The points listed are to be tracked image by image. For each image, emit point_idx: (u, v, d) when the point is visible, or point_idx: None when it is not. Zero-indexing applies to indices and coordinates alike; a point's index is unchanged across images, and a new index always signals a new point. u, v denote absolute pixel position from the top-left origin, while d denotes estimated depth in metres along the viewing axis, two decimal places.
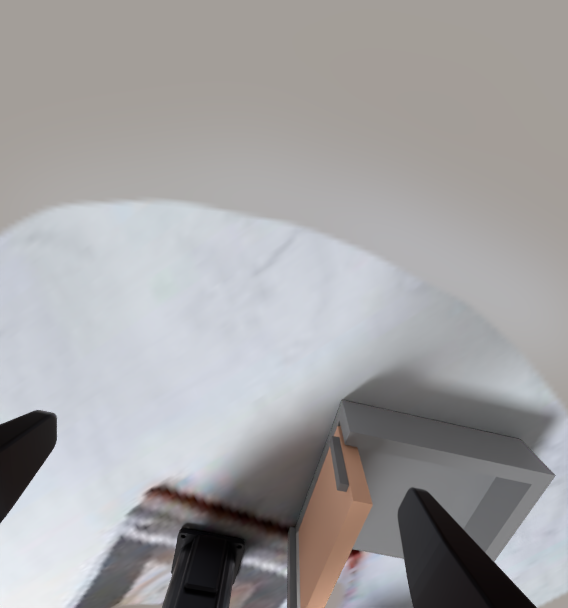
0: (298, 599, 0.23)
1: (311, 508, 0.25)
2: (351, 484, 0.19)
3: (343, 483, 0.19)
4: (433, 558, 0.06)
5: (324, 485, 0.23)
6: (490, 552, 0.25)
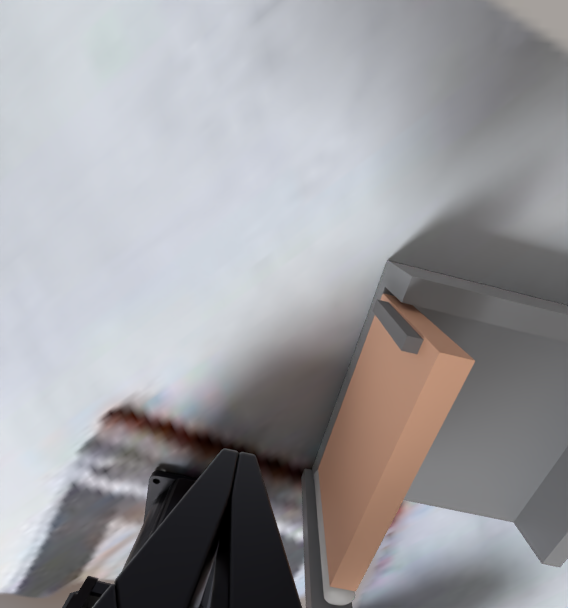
0: (323, 556, 0.15)
1: (339, 428, 0.17)
2: (427, 337, 0.10)
3: (413, 337, 0.11)
4: (226, 518, 0.06)
5: (363, 382, 0.15)
6: None
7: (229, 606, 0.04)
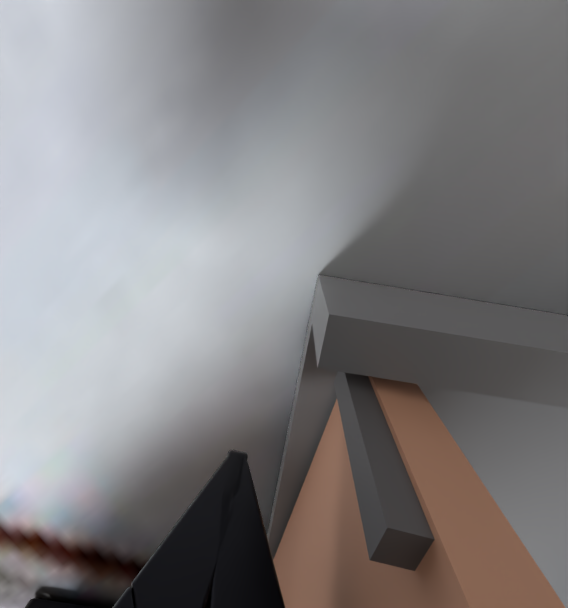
0: None
1: (281, 565, 0.10)
2: (446, 534, 0.04)
3: (404, 528, 0.04)
4: None
5: (315, 510, 0.08)
6: None
7: (210, 603, 0.04)
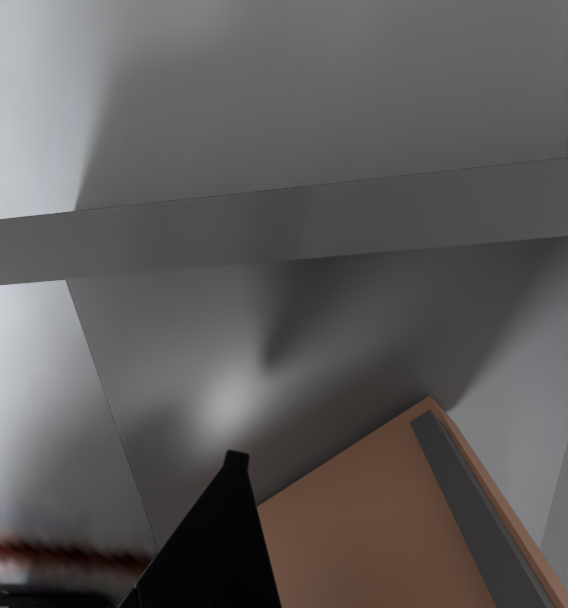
0: None
1: None
2: None
3: None
4: None
5: (319, 520, 0.08)
6: None
7: (207, 602, 0.04)
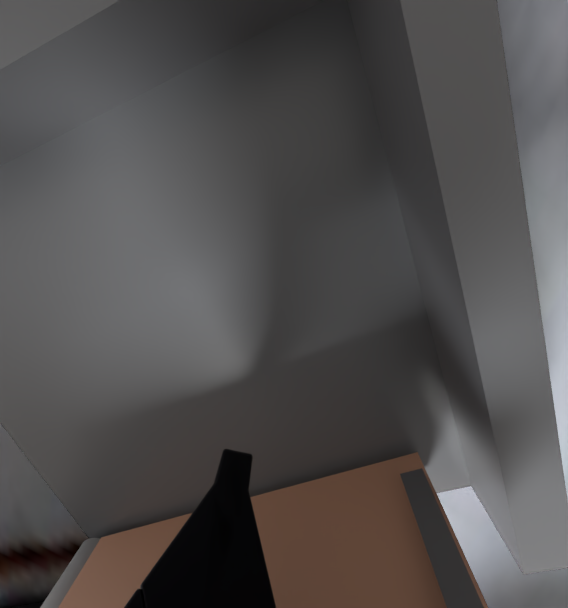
0: None
1: None
2: None
3: None
4: None
5: (285, 540, 0.08)
6: (500, 354, 0.06)
7: (200, 601, 0.04)
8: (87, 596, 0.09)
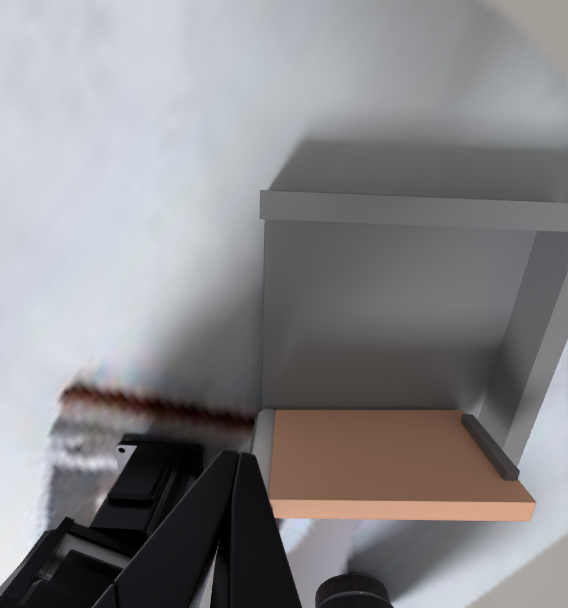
0: (265, 473, 0.15)
1: (341, 420, 0.19)
2: (518, 482, 0.15)
3: (517, 474, 0.14)
4: (226, 518, 0.06)
5: (404, 428, 0.18)
6: (536, 378, 0.16)
7: (229, 606, 0.04)
8: (291, 432, 0.18)
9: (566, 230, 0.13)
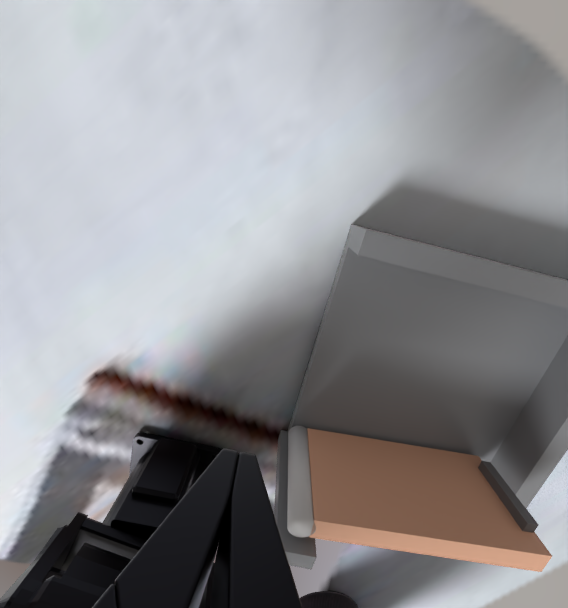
0: (307, 492, 0.16)
1: (371, 448, 0.20)
2: (534, 534, 0.16)
3: (534, 526, 0.16)
4: (226, 518, 0.06)
5: (429, 466, 0.19)
6: (559, 441, 0.18)
7: (229, 606, 0.04)
8: (325, 453, 0.19)
9: None
